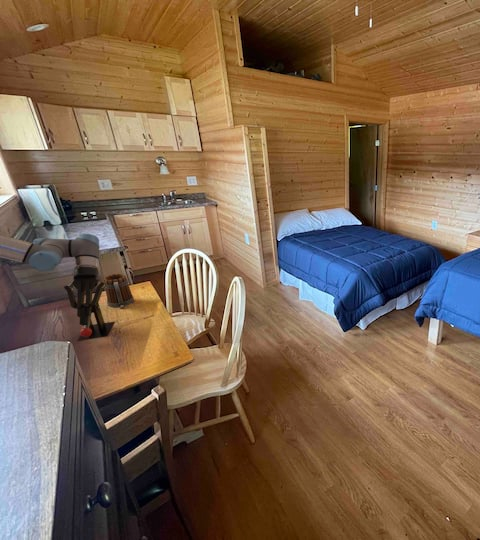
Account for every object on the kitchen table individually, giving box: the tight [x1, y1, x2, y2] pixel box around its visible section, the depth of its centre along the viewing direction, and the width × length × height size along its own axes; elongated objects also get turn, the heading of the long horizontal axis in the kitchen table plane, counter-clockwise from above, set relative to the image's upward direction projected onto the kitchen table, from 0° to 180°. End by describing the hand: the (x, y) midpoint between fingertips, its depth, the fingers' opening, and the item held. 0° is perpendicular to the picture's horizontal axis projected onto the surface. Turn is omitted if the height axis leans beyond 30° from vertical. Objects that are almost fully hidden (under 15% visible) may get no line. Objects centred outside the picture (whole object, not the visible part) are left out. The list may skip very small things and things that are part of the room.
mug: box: [103, 273, 135, 310], centre depth 146 cm, size 16×11×15 cm
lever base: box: [76, 302, 116, 342], centre depth 125 cm, size 12×10×14 cm
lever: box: [79, 308, 94, 337], centre depth 120 cm, size 14×4×4 cm
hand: (83, 324), depth 117 cm, fingers closed
